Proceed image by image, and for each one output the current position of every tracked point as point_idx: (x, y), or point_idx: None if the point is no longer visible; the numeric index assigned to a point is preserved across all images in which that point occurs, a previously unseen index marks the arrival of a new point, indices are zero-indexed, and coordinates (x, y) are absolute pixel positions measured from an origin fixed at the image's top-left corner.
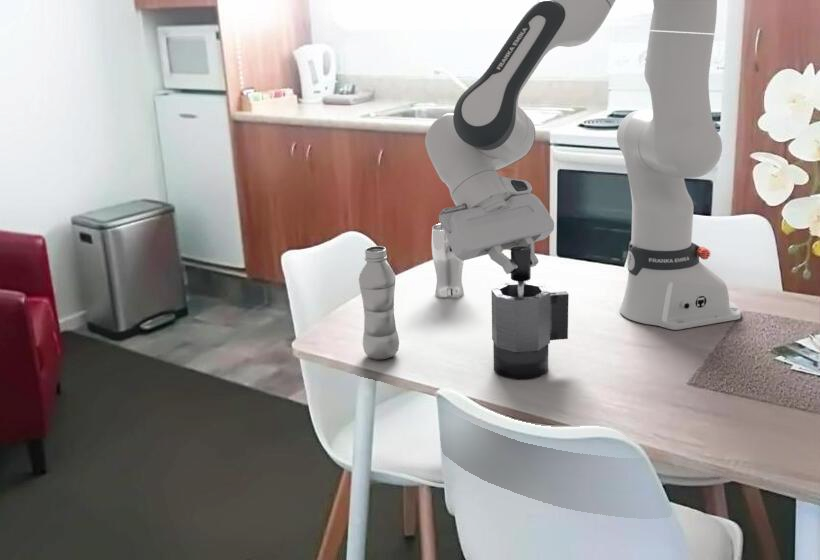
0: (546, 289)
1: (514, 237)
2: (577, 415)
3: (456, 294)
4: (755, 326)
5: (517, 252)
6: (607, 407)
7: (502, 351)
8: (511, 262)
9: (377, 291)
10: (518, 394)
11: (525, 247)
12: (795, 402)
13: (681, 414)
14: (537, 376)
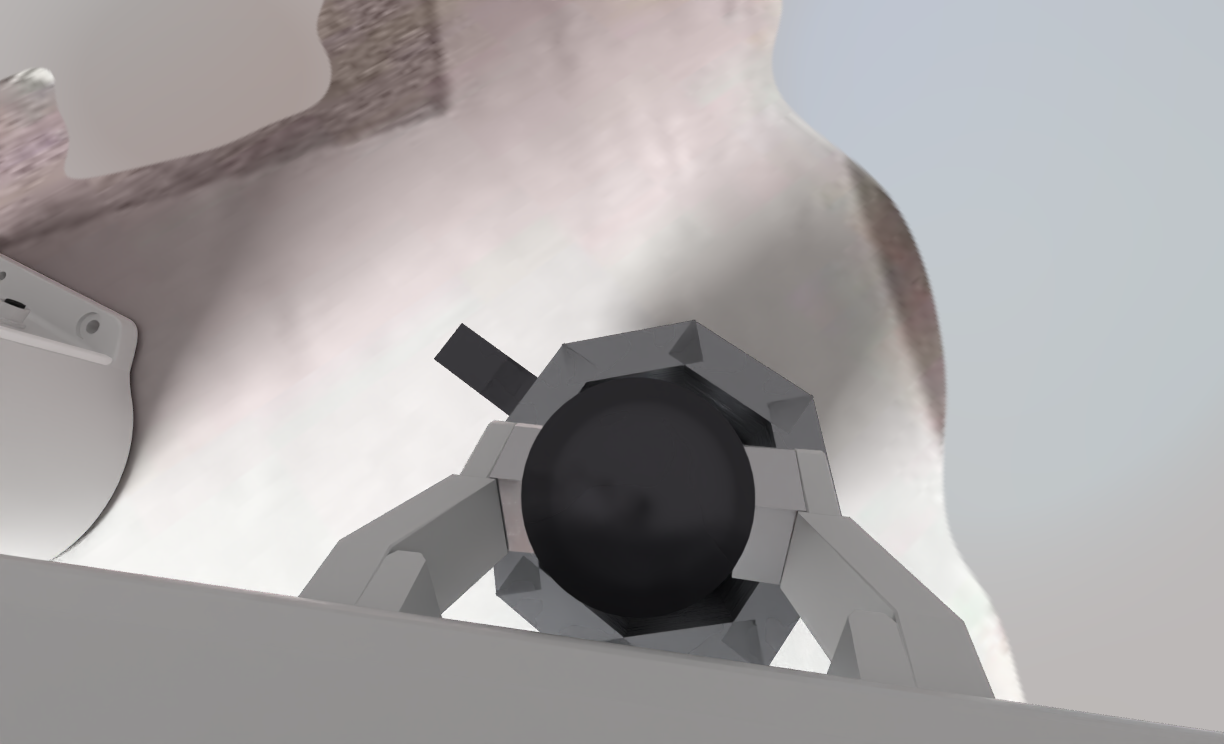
0: (538, 391)
1: (590, 652)
2: (789, 179)
3: None
4: (11, 193)
5: (743, 448)
6: (695, 158)
7: None
8: (794, 483)
9: None
10: (816, 373)
11: (548, 493)
12: None
13: (601, 31)
14: None
